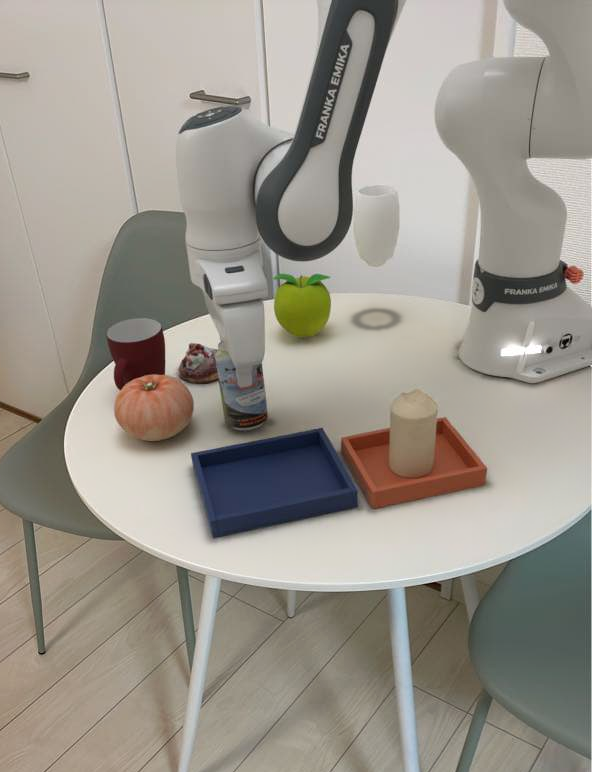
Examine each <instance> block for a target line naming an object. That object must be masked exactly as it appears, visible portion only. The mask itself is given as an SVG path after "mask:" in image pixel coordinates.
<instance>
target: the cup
mask: <svg viewBox="0 0 592 772" xmlns="http://www.w3.org/2000/svg"><path fill="white" fill-rule="evenodd" d="M398 193H399V192H398V188H397V187H395V186H393V185H390V184H383V183H381V184H380V183H376V184H375V183H374V184H368V185H364V186H361V187H359V188H357V190H356V193H355V202H354V206H353V233H354V234H353V235H354V241H355V247H356V250H357V253H358V255H359V258H360V259H361V260H362V261H364V262H365V263H366V264H367V265H368V266H369V267H373V268H378V267H382V266H384V265H385V264H386V263H387V262H388V261H389V260H391V259H392V258H393V256H394V253H395V250H396V247H397V244H398V243H397V242H398V237H399V232H400V221H401V220H400V200H399V194H398Z"/></svg>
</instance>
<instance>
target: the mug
mask: <svg viewBox="0 0 592 772" xmlns="http://www.w3.org/2000/svg"><path fill="white" fill-rule="evenodd" d="M105 333H106V334H105V335H106V342H107V345H108V349H109V353H110V356H111V358H112V360H113V363H114V368H113V381H114V384H115V387H116V389H118V391H119V392H120V391H121V390H122V388H123V387H124V386H125V385H126V384H127V383H129V382H130V381H132V380H134V379H136V378H140V377H143V376H146V375H155V374H156V375H166V341H165V334H164V330H163V325H162V323H161V322H159V320H156V319H154V318H148V317H137V318H136V317H135V318H129V319H125V320H121V321H120V322H117V323H115V324H113V325H111V326H110V327H108V329H107V331H106V332H105Z"/></svg>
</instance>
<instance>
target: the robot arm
mask: <svg viewBox="0 0 592 772" xmlns="http://www.w3.org/2000/svg"><path fill="white" fill-rule="evenodd" d="M406 3H407V0H316V4H317V16H318V17H317V18H318V19H317V20H318V23H317V24H318V25H317V26H318V30H317V40H316V50H315V54H314V60H313V62H312V67H311V71H310V75H309V78H308V83H307V86H306V90H305V94H304V98H303V101H302V104H301V108H300V112H299V115H298V119H297V123H296V127H295V130H294V133H293V132H290V131H285V130H282V129H278V128H275V127H273V126H271V125H269V124H266V123H265V122H262V121H261V120H258V119H256V118H255V117H253V116H252V115H251V114H249V113H248V112H246V111H245V110H244V109H243V108H242V107H240V106H235V105H226V106H218V107H213V108H210V109H206V110H204V111H201V112H198V113H196V114H195V115H192V116H191V117H189V118H188V119H187V120H186V121H185V122H184V123H183V124H182V126H181V128H180V129H179V131H178V132H177V136H176V142H175V162H176V163H175V165H176V166H175V167H176V178H177V186H178V194H179V196H178V197H179V202H180V205H181V208H182V210H183V213H184V216H185V221H186V227H185V235H184V236H185V239H184V240H185V247H186V254H187V262H188V269H189V276H190V281H191V283H192V284H193V285H194V286H196V287H198V288H200V289H201V290H202V294H203V296H204V302H205V307H206V310H207V312H208V314H209V316H210V319H211V320H212V322H213V324H214V326H215V329H216V331H217V332H218V337H219V340H220V342H222V341H223V343H224V345H225V347H226V349H227V351H228V353H229V355H230V358H231V360H232V362H233V364H234V366H235V367H236V370H235V373H236V381H237V383H238V385H239V387H241V388H243V387H248V386H251V385H252V374H251V373H252V369H253V365H258V364H261V363H262V364H263V361H264V358H265V355H266V353H265V352H266V315H265V305H264V300H263V299H265V298H267V297H269V287H268V286H269V285H268V281H267V276H266V273H265V271H264V263H263V261H264V260H263V254H262V253H263V252H262V243H261V241H263V242H264V244H265V245H266V246H267V247H268V248H269V249H270V250H271V251H272V252H273V253H274V254H276V255H278V257H281V258H283V259H286V260H289V261H292V262H300V263H301V262H311V261H315V260H318V259H321V258H323V257H326V256H327V255H329V254H330V253H332V252H333V251H334V250H336V249H337V248H338V247H339V246H340V245H341V243H342V242H343V241H344V240H345V237H346V236H347V234H348V232H349V230H350V228H351V224H352V220H353V216H354V197H353V166H354V161H355V158H356V157H355V156H356V152H357V149H358V146H359V141H360V139H361V135H362V132H363V128H364V125H365V122H366V119H367V115H368V112H369V110H370V105H371V102H372V99H373V95H374V92H375V89H376V85H377V82H378V80H379V76H380V73H381V69H382V65H383V62H384V58H385V55H386V53H387V49H388V47H389V44H390V42H391V40H392V37H393V34H394V32H395V29H396V27H397V25H398V23H399V19H400V17H401V15H402V12H403V10H404V7H405V5H406ZM502 4H503V6H504V8H505V10H506V12H507V13H508V15H509V16H510V17H511V19H512V20H513V21H514V22H516V24H518V25H519V26H521V27H523V28H524V29H526V30H527V31H530V32H531V33H533V34H535V35H536V36H537V37H538V38H539V39H540V40H541V41H542V42H543V44H544V45H545V47H546V49H547V51H548V54H549V55H546V56H497V57H495V56H494V57H493V56H492V57H486V58H483V59H479V60H478V59H477V60H474V61H473V60H472V61H469V62H465V63H463V64H458V65H455V66H454V67H453V68H452V69H451V70H450V72H449V73H447V75H446V77H445V78H444V80H443V81H442V83H441V85H440V87H439V89H438V91H437V92H438V93H437V94H436V98H435V103H434V123H435V128H436V132H437V134H438V137H439V139H440V140H441V142H442V143H443V145H444V147H445V148H446V149H447V150H449V151H450V152H451V153H452V154H453V155H455V157H456V158H457V159H458V160H459V161H460V162H461V164H462V165H463V166H464V168H465V169H466V171H467V173H468V175H469V176H470V177H471V180H472V183H473V184H474V187H475V189H476V193H477V196H478V202H479V210H480V211H479V212H480V228H479V229H480V232H479V249H478V258H477V260H476V261H475V263H474V269H473V278H472V285H471V302H472V304H471V309H470V314H469V318H468V322H467V327H466V329H465V333H464V335H463V339H462V341H461V344H460V346H459V349H458V351H457V353H458V358H459V360H460V361H461V362H462V363H463V364H464V365H465V366H467V367H468V368H470V369H471V370H474V371H476V372H479V373H481V374H485V375H489V376H493V377H502V378H510V379H514V380H518V381H520V382H524V383H527V384H537V383H541V382H544V381H547V380H550V379H554V378H556V377H560V376H562V375H565V374H569V373H572V372H575V371H579V370H581V369H583V368H586V367H590V366H592V306H591V305H590V304H589V303H588V301H586V300H585V299H583V298H582V297H581V296H580V295H579V294H577V292H576V291H574V290H572V288H571V287H569V286H568V285H567V281H569V282H570V283H571V284H574V285H577V284H580V283H581V280H583V279H584V278H583V277H585V275H584V273H585V272H584V271H583V270H582V269H580V268H578V267H577V266H576V265H570V266H569V265H568V263H566V262H565V261H563V260H561V254H562V248H563V244H564V243H563V242H564V238H565V237H564V236H565V233H566V232H565V230H566V226H567V225H566V224H567V219H568V211H567V206H566V204H565V202H564V199H563V198H562V197H561V196H560V194H559V193H558V192H557V191H556V190H554V189H553V188H551V187H550V186H549V185H547V184H545V183H543V182H542V181H540V180H539V179H537V178H536V177H535V176H534V175H533V174H532V172H531V170H530V169H529V167H528V166H529V165H528V162H527V160H529V159H550V160H551V159H554V160H555V159H556V160H591V159H592V0H502ZM261 239H262V240H261ZM566 280H567V281H566Z"/></svg>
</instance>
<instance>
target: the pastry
mask: <svg viewBox="0 0 592 772" xmlns="http://www.w3.org/2000/svg"><path fill="white" fill-rule="evenodd" d="M217 350H218V348H212V347H208V346H206V345H205V344H201V343H195V342H191V343H189V344H188V348H187V350H186V351H185V356H184V357H183V359H181V362H180V364H179V366H178V369H177V372H178V374H179V376H180V378H181V379H183V380H185V381H188V382H190V383H194V384H206V383H212V382H214V381H217V380H219V379H218V372H217V366H216V359H215V355H216V352H217Z"/></svg>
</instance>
